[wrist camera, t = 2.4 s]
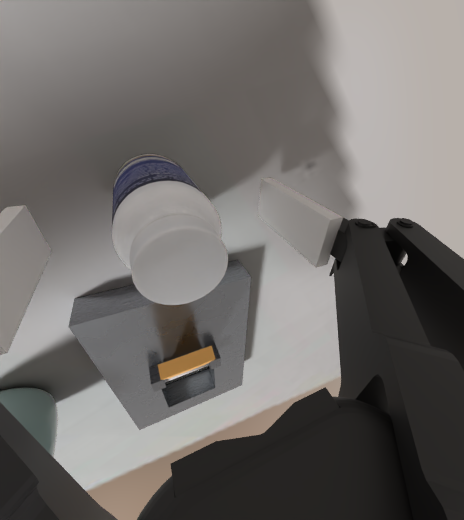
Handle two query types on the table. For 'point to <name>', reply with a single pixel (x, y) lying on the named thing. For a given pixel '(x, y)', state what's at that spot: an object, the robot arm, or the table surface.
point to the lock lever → (186, 364)
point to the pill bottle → (166, 231)
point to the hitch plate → (165, 344)
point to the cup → (34, 413)
